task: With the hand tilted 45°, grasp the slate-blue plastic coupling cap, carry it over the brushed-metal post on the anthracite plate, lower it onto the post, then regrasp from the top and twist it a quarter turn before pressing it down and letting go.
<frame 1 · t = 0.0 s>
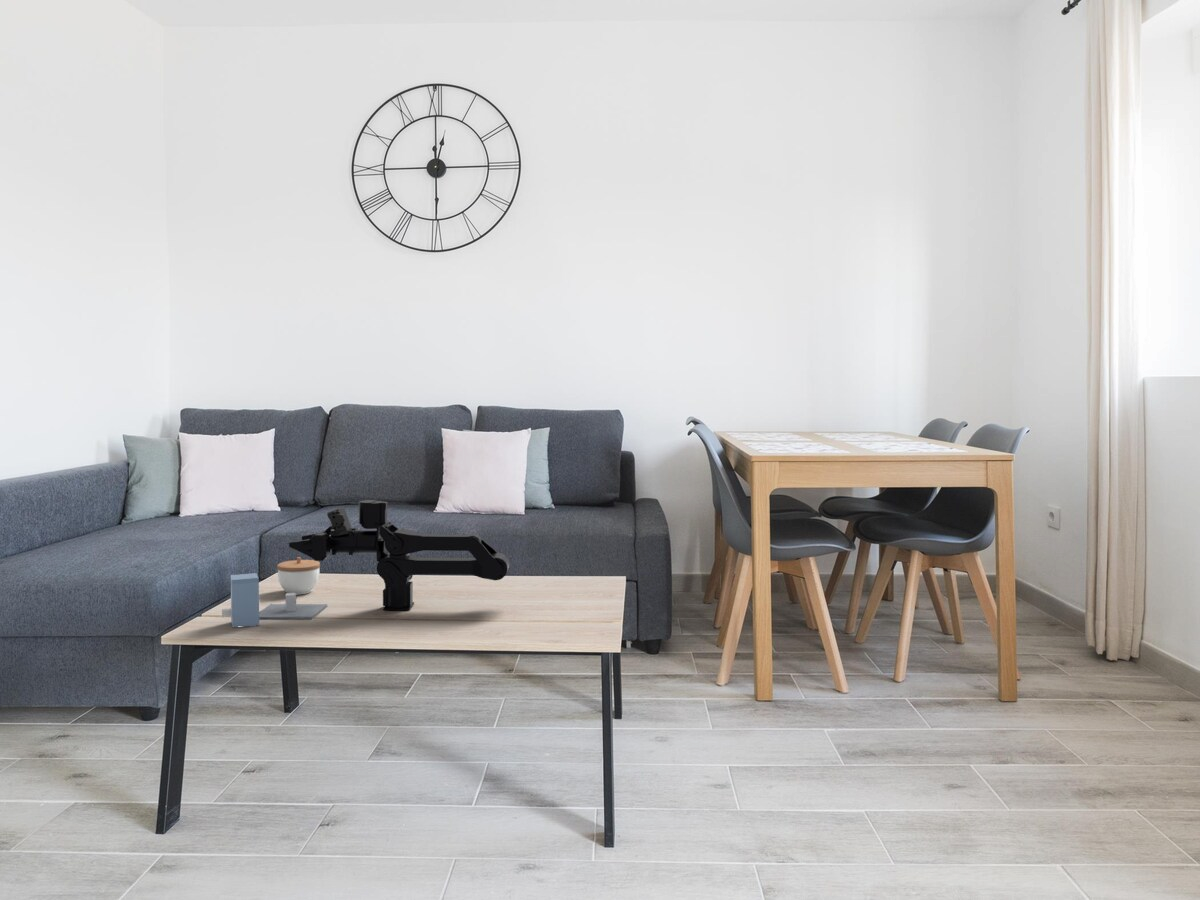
hand: (295, 541, 199), 17 cm above the table, tool horizontal, fingers open, 9 cm apart
lidded jar: (299, 592, 216), on the table
lock post: (290, 612, 195), on the table
coupling cap: (245, 623, 185), on the table
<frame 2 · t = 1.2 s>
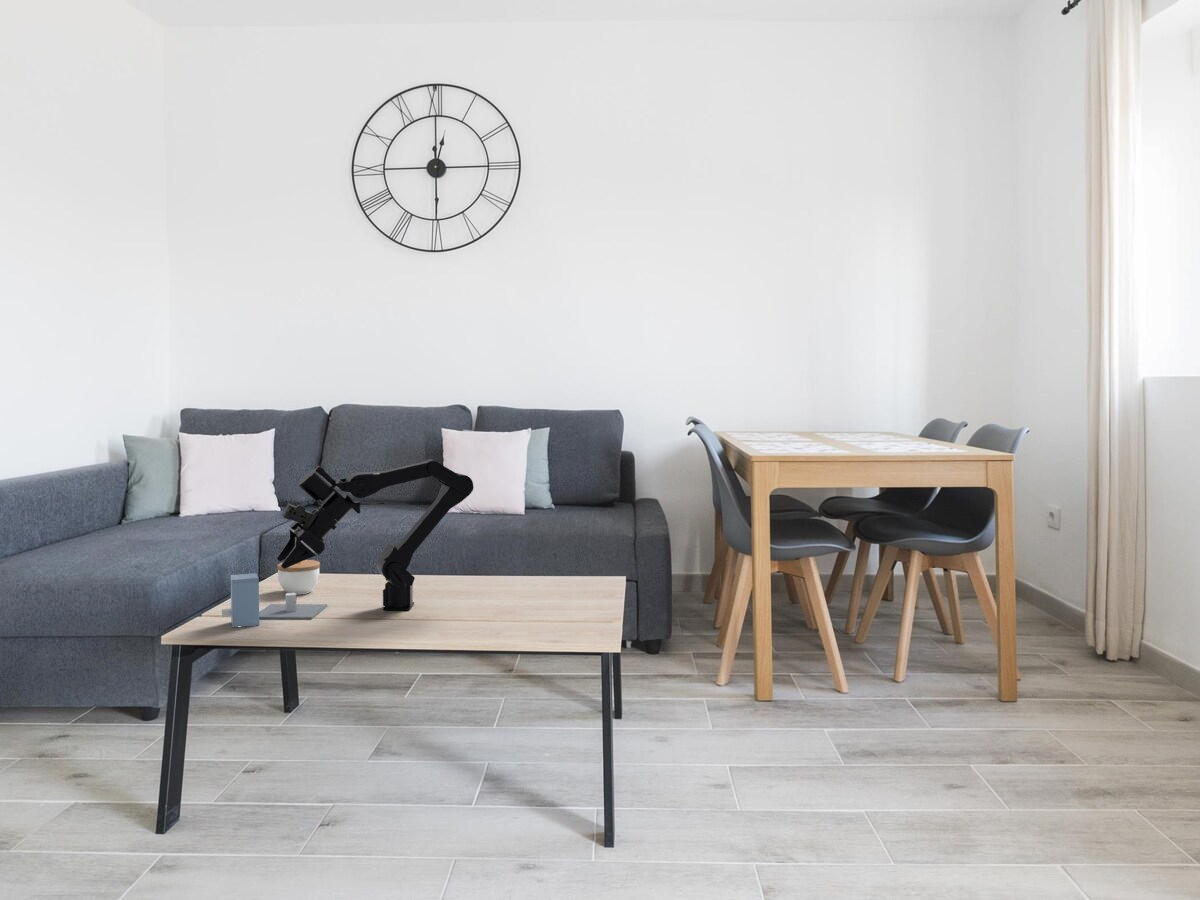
hand: (280, 563, 187), 13 cm above the table, tool tilted 45°, fingers open, 9 cm apart
nothing on the table moved.
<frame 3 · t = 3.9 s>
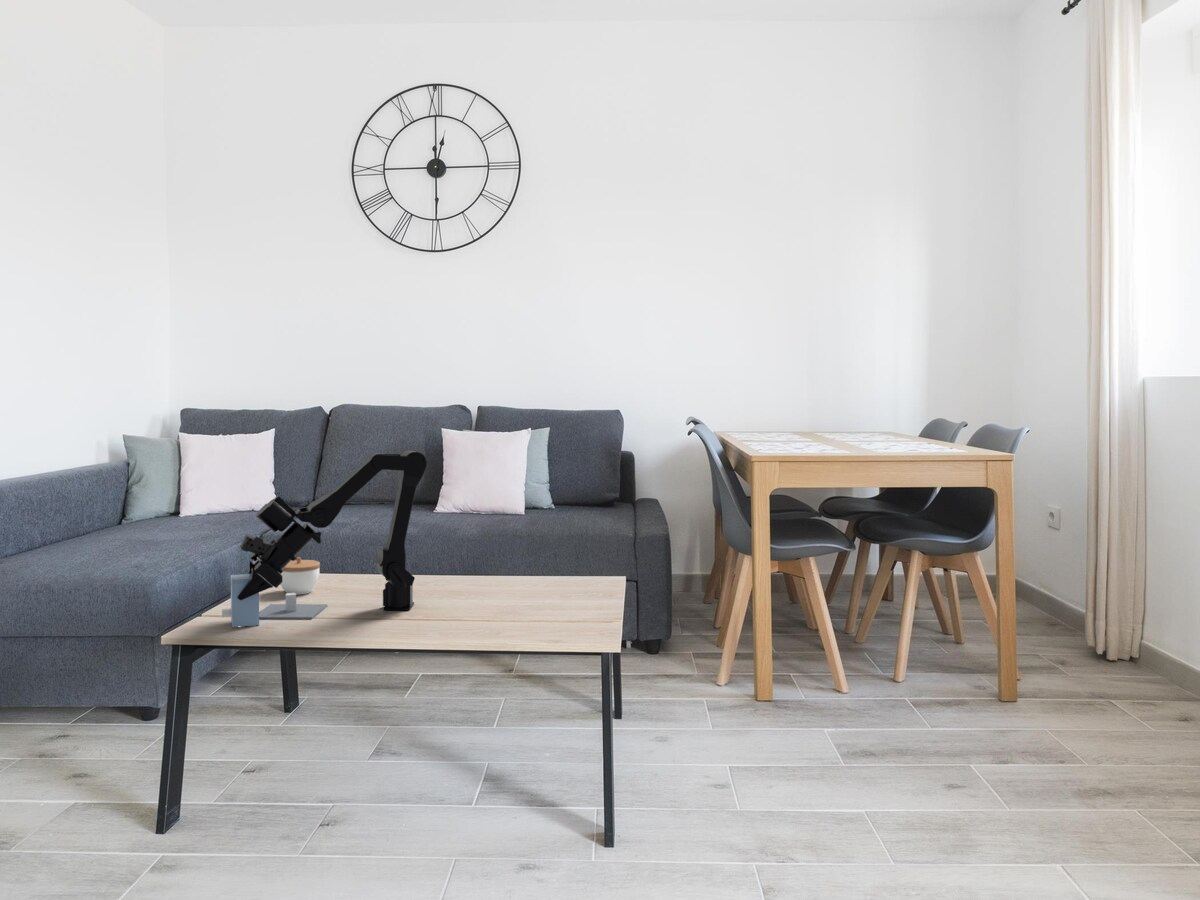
hand: (238, 596, 184), 7 cm above the table, tool tilted 45°, fingers closed on coupling cap, 6 cm apart
coupling cap: (245, 623, 185), on the table, touching gripper
everything else where it was.
when the fingers open (8 cm above the table, at t = 7.7 s): coupling cap stays where it is, resting on lock post.
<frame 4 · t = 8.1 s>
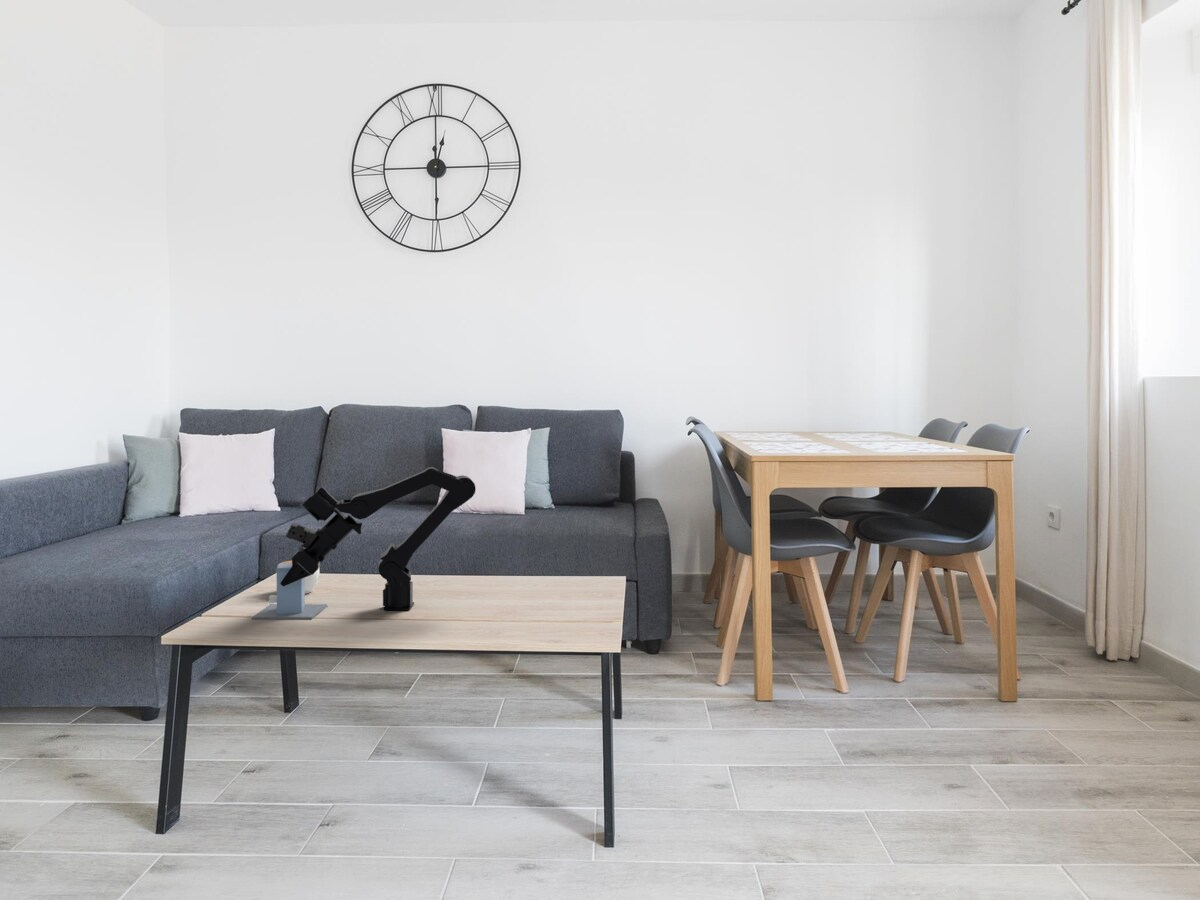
hand: (284, 580, 194), 8 cm above the table, tool tilted 45°, fingers open, 9 cm apart
coupling cap: (291, 610, 195), resting on lock post
everything else where it was.
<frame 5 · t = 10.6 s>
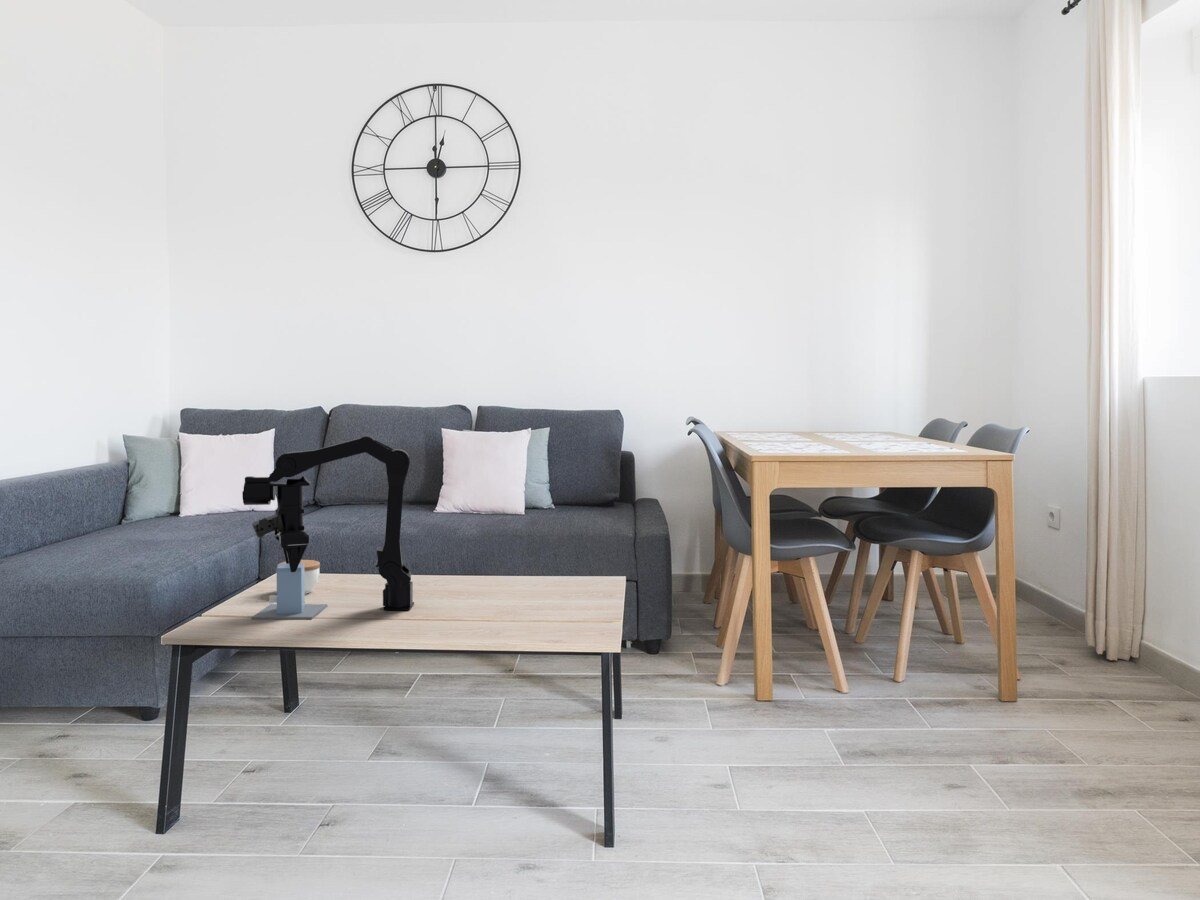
hand: (291, 568, 194), 11 cm above the table, tool pointing down, fingers open, 9 cm apart
nothing on the table moved.
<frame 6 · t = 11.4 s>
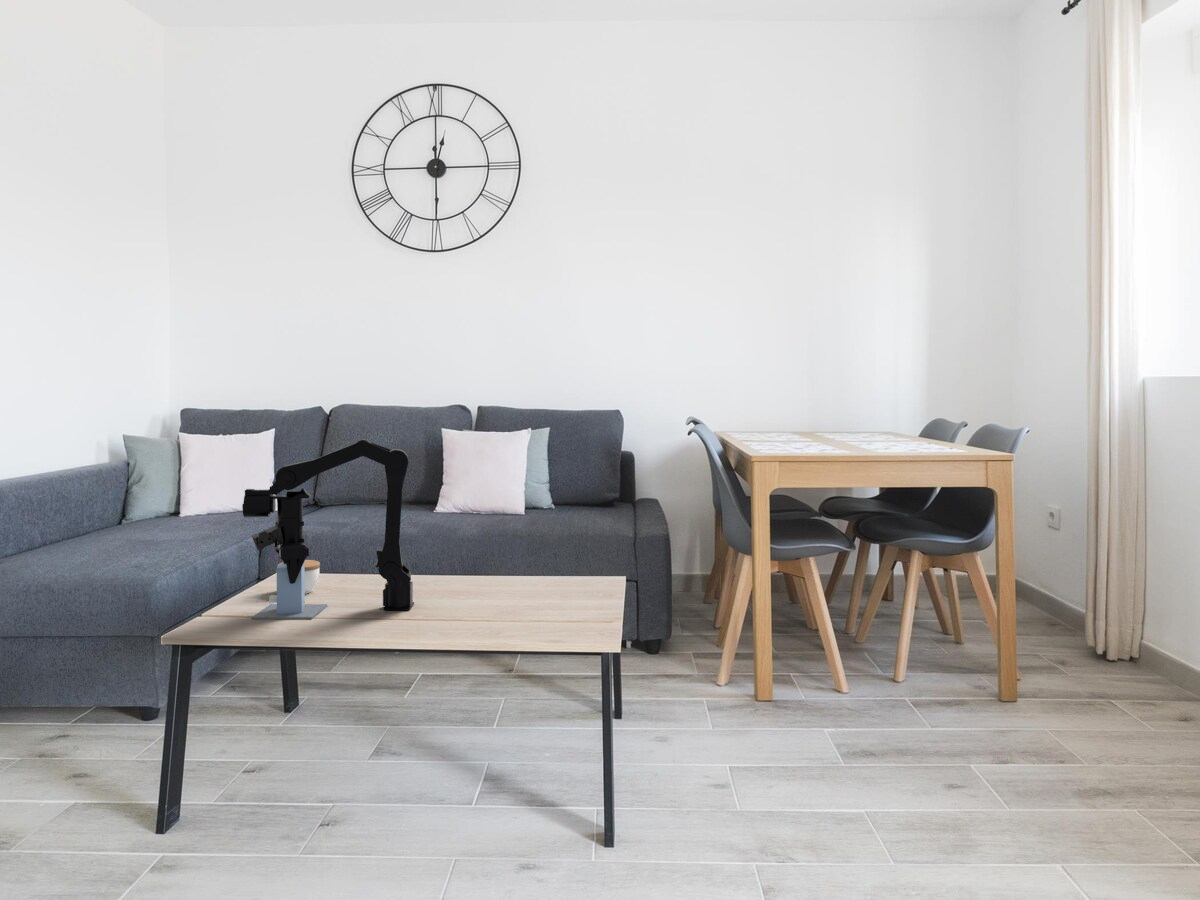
hand: (290, 580, 195), 8 cm above the table, tool pointing down, fingers closed on coupling cap, 6 cm apart
coupling cap: (291, 610, 195), point 1 cm above the table, touching gripper, lock post
everything else where it was.
when the fingers open (8 cm above the table, at t = 13.6 s): coupling cap stays where it is, resting on lock post.
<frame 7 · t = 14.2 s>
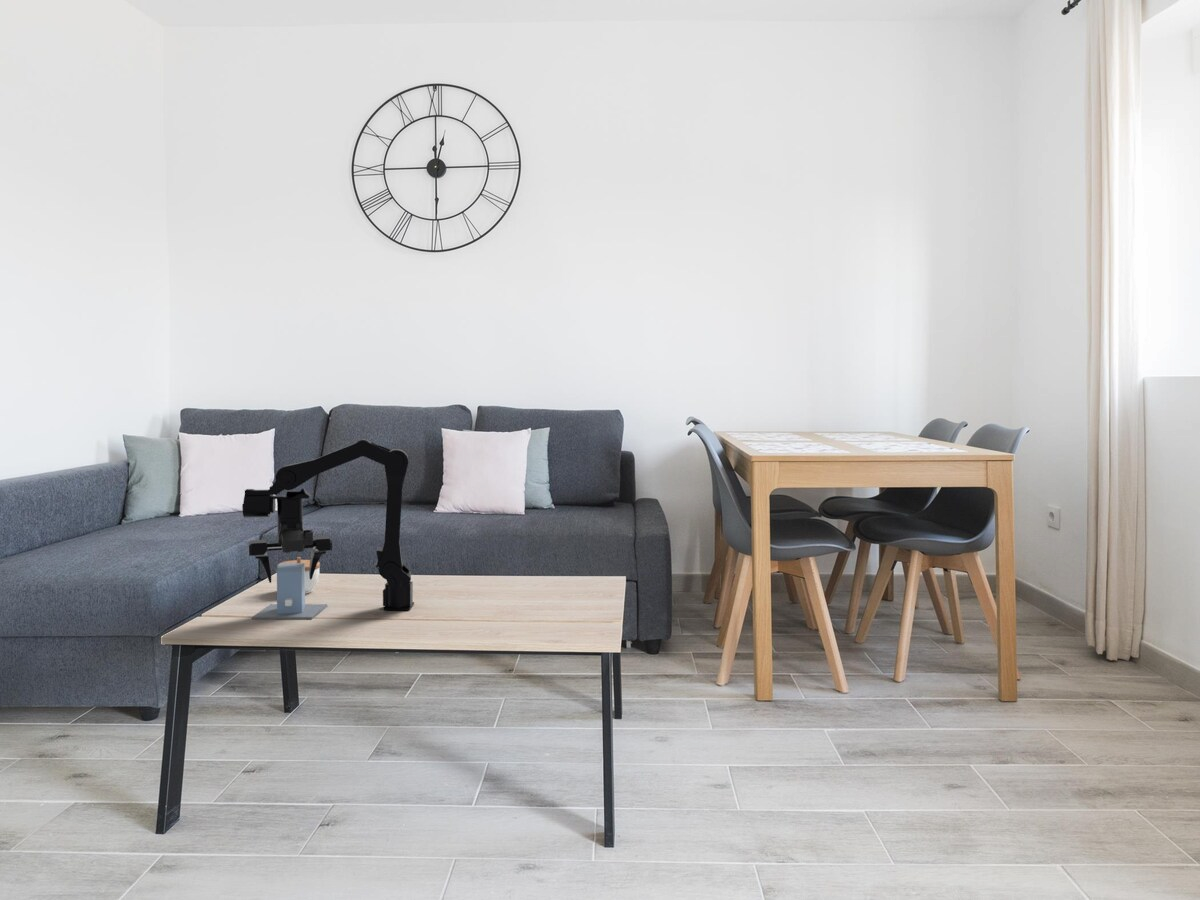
hand: (290, 580, 195), 8 cm above the table, tool pointing down, fingers open, 9 cm apart
coupling cap: (291, 610, 195), resting on lock post
everything else where it was.
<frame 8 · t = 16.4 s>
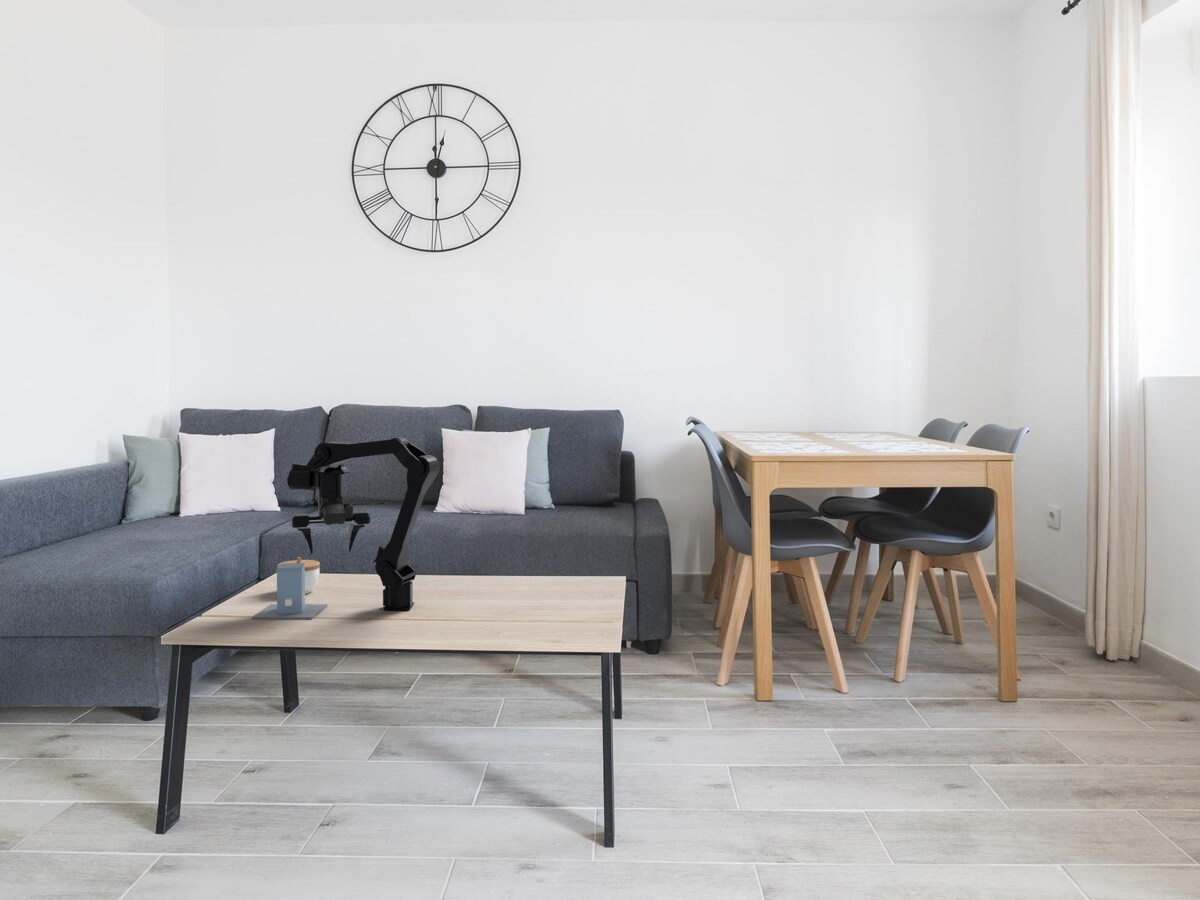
hand: (330, 552, 204), 13 cm above the table, tool pointing down, fingers open, 9 cm apart
nothing on the table moved.
at the end: coupling cap 0.1 cm off-centre on the lock post, point 0.5 cm above the lock post's base; coupling cap tilted 0°; the gripper is holding nothing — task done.
